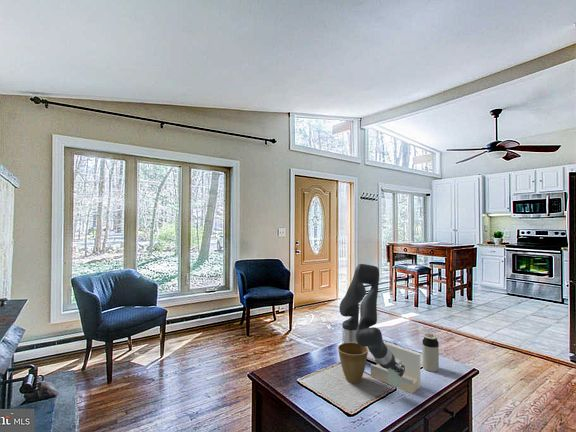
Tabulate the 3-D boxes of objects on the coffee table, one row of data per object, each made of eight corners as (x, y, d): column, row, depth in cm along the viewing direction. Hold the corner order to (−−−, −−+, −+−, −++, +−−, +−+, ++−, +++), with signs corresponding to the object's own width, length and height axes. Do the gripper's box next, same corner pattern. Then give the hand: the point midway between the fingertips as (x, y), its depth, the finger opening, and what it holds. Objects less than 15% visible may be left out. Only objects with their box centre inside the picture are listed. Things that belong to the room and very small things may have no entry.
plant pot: (368, 373, 164) (368, 343, 164) (367, 389, 149) (367, 356, 149) (339, 370, 168) (339, 340, 168) (336, 385, 153) (336, 352, 153)
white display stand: (412, 393, 146) (412, 359, 145) (370, 376, 162) (370, 345, 161) (420, 386, 152) (420, 353, 152) (379, 369, 168) (379, 340, 168)
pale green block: (397, 387, 141) (397, 363, 140) (388, 383, 144) (388, 360, 144) (401, 383, 144) (401, 360, 144) (392, 380, 147) (392, 357, 147)
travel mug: (421, 369, 168) (421, 336, 168) (424, 363, 174) (424, 331, 174) (437, 373, 163) (437, 339, 163) (439, 367, 170) (439, 334, 170)
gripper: (401, 353, 133) (414, 370, 141) (372, 342, 143) (385, 359, 152) (395, 369, 129) (408, 386, 138) (365, 357, 140) (379, 374, 148)
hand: (396, 372), depth 145 cm, fingers closed on pale green block, 4 cm apart
